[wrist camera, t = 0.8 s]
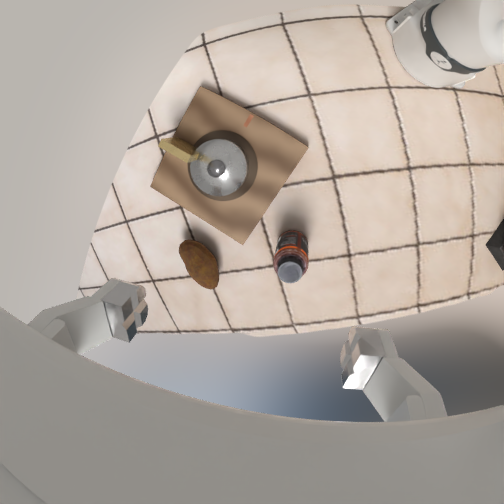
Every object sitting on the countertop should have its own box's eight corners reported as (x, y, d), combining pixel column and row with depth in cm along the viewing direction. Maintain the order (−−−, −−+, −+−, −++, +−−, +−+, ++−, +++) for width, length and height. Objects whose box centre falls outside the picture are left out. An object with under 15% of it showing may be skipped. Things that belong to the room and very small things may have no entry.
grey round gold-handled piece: (259, 157, 44) (253, 161, 39) (230, 203, 49) (221, 213, 43) (187, 116, 43) (172, 115, 38) (164, 163, 47) (148, 168, 42)
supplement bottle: (271, 240, 53) (263, 268, 43) (295, 223, 51) (293, 248, 41) (290, 262, 54) (286, 294, 44) (314, 246, 52) (315, 276, 42)
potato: (200, 227, 55) (187, 240, 48) (235, 269, 57) (226, 287, 51) (178, 243, 57) (164, 258, 51) (212, 283, 60) (202, 301, 54)
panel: (204, 87, 42) (199, 86, 40) (308, 146, 44) (308, 147, 42) (155, 184, 52) (149, 186, 50) (245, 240, 54) (242, 245, 52)
